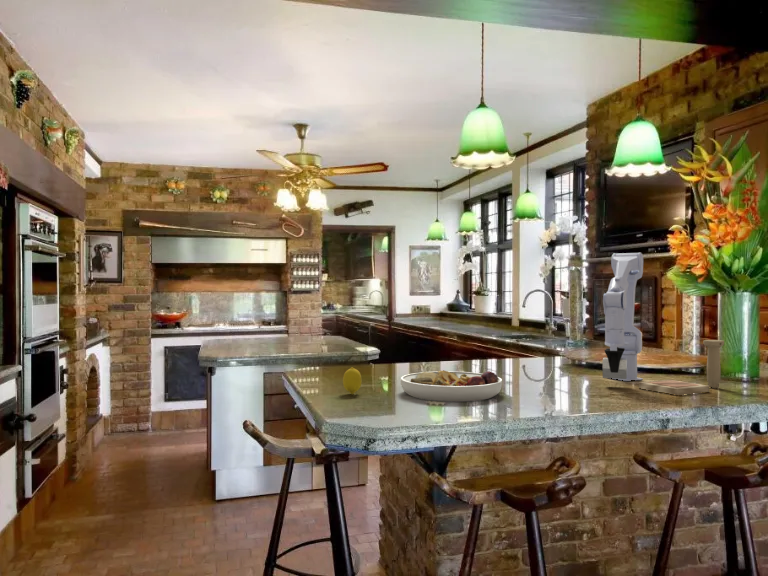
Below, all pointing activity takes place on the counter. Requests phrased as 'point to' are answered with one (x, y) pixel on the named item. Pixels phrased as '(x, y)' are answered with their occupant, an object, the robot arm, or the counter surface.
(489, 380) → the bowl
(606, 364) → the block
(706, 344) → the handle
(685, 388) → the stand
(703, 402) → the counter surface
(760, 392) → the counter surface
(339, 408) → the counter surface
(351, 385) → the lemon
